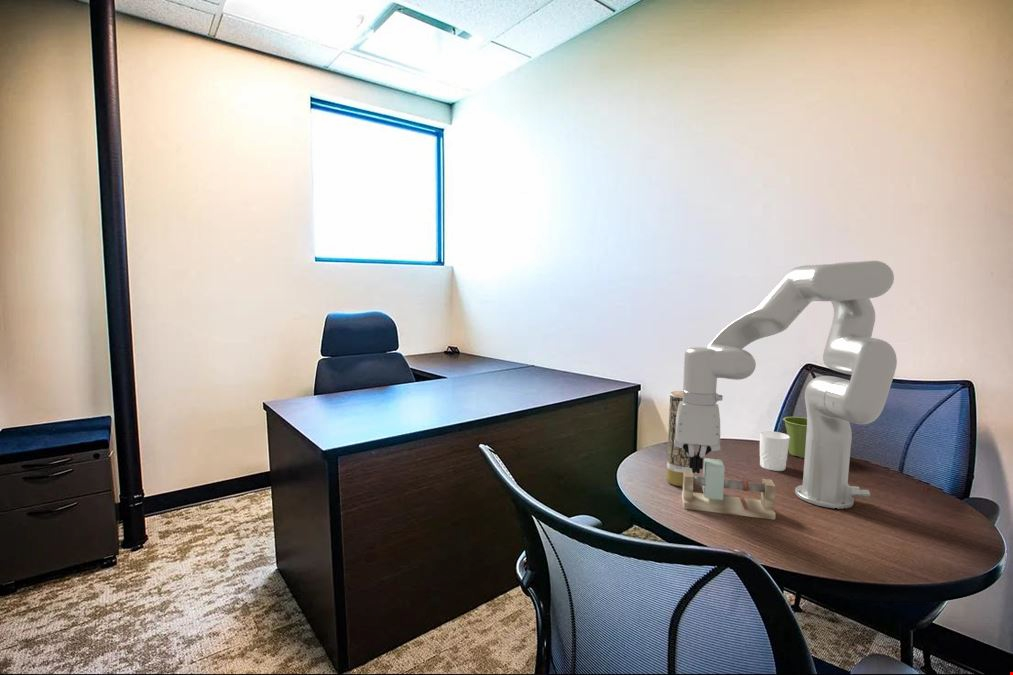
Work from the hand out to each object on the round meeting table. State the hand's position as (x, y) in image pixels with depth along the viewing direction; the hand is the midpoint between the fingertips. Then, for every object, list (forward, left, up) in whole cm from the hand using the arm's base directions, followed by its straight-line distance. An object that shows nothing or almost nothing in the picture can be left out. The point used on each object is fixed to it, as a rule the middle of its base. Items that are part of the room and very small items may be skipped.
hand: (695, 471), depth 120 cm
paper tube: (+3, -13, -9) cm, 16 cm away
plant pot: (-37, -49, -9) cm, 62 cm away
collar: (-4, 0, -5) cm, 7 cm away
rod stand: (-7, 0, -8) cm, 11 cm away
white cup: (-25, -34, -9) cm, 43 cm away
